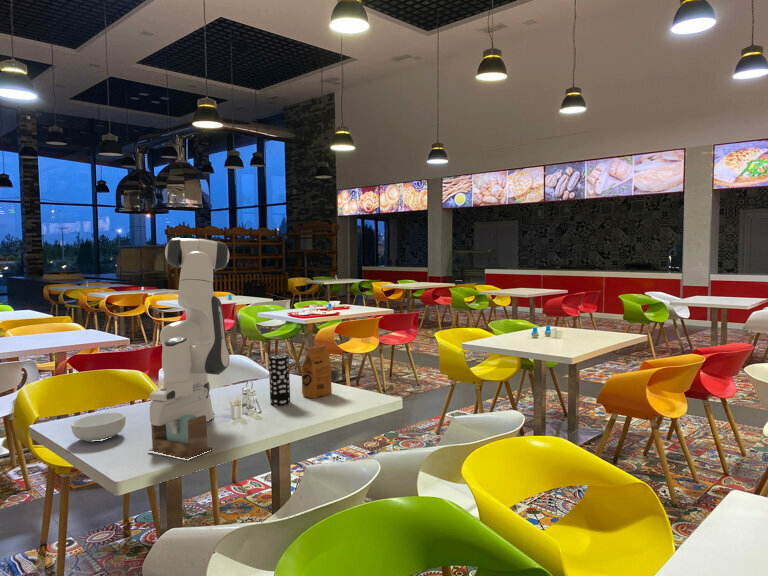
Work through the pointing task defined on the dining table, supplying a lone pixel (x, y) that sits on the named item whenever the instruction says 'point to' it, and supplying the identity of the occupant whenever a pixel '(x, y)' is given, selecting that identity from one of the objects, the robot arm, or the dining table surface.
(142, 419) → the dining table surface
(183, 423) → the door panel
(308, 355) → the coffee package
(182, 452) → the wooden u-shaped stand
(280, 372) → the spotted tube
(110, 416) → the cereal bowl
